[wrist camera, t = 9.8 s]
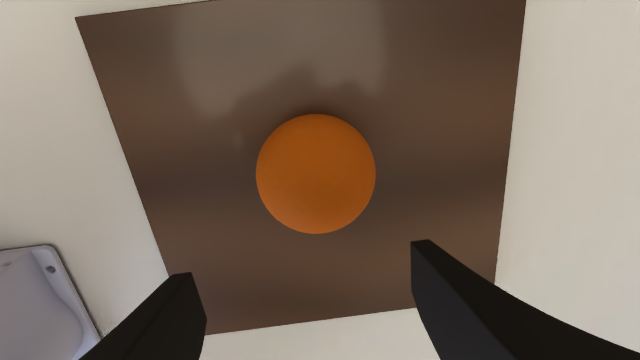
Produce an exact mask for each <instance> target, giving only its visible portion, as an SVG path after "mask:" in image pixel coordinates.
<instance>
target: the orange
mask: <svg viewBox="0 0 640 360" xmlns="http://www.w3.org/2000/svg"><path fill="white" fill-rule="evenodd" d="M375 180H376V169H375V161H374V158H373V154H372V152H371V150H370V147H369V145H368V144H367V142H366V140H365V139H364V138H363V136H362V135H361V134H360V133H359V132H358V131H357V130H356V129H355V128H354V127H353V126H351V125H350V124H348V123H347V122H345V121H343V120H341V119H339V118H336V117H333V116H329V115H324V114H307V115H302V116H298V117H295V118H293V119H291V120H289V121H287V122H285V123H283V124H282V125H280V126H279V127H278V128H277V129H275V130H274V131H273V132H272V133H271V135H270V136H269V137H268V138H267V140H266V141H265V143H264V144H263V146H262V148H261V151H260V153H259V156H258V159H257V166H256V182H257V188H258V191H259V195H260V197H261V199H262V201H263V203H264V205H265V206H266V208H267V209H268V211H269V212H270V213H271V214H272V215H273V216H274V217H275V218H276V219H277V220H278V221H280V222H281V223H282V224H284V225H285V226H287V227H289V228H291V229H294V230H296V231H299V232H303V233H310V234H321V233H328V232H332V231H335V230H338V229H340V228H343V227H344V226H346V225H348V224H349V223H351V222H352V221H353V220H355V219H356V218H357V217H358V216H359V215H360V214H361V212H362V211H363V210H364V209H365V207H366V206H367V204H368V203H369V200H370V198H371V196H372V193H373V190H374V186H375Z"/></svg>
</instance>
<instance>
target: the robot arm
mask: <svg viewBox="0 0 640 360" xmlns="http://www.w3.org/2000/svg"><path fill="white" fill-rule="evenodd" d="M410 252H411V292H412V295H413V298H414V301H415V304H416V307H417V309H418V312H419V315H420V318H421V320H422V322H423V324H424V327H425V329H426V331H427V333H428V335H429V337H430V339H431V341H432V343H433V345H434V347H435V349H436V351H437V353H438V355H439V357H440V359H441V360H640V353H638V352H635V351H633V350H630V349H627V348H625V347H622V346H619V345H617V344H614V343H612V342H609V341H607V340H604V339H602V338H599V337H597V336H594V335H592V334H590V333H587V332H585V331H583V330H581V329H578V328H576V327H574V326H572V325H569V324H567V323H565V322H563V321H560V320H558V319H556V318H554V317H552V316H550V315H548V314H546V313H544V312H542V311H540V310H538V309H536V308H534V307H533V306H531V305H529V304H527V303H525V302H523V301H521V300H519V299H518V298H516V297H514V296H512V295H511V294H509V293H507V292H506V291H504V290H502V289H501V288H499V287H497V286H496V285H494V284H492V283H491V282H489V281H488V280H486V279H485V278H483V277H482V276H480V275H478V274H477V273H476V272H474V271H473V270H471V269H470V268H468V267H467V266H465V265H464V264H463V263H461V262H460V261H458V260H457V259H456V258H454V257H453V256H451V255H450V254H449V253H447V252H446V251H445V250H443V249H442V248H441V247H439V246H438V245H436V244H435V243H434V242H432V241H431V240H430V239H425V240H418V241H411V242H410ZM51 266H52V267H54V268H55V269H54V268H52V267H51ZM206 324H207V317H206V314H205V311H204V308H203V305H202V302H201V299H200V296H199V293H198V290H197V287H196V284H195V281H194V278H193V275H192V272H186V273H179V274H173V275H171V276H170V277H169V278H168V279H167V280H166V281H165V282H163V283H162V284H161V285H160V286H159V287H158V288H157V289H156V290H155V291H154V292H153V293H152V294H151V295H150V296H149V297H148V298H147V299H146V300H144V301H143V302H142V303H141V304H140V305H139V306H138V307H137V308H136V309H135V310H134V311H133V312H132V313H131V314H130V315H129V316H128V317H126V318H125V319H124V320H123V321H122V322H121V323H120V324H119V325H118V326H117V327H115V328H114V329H113V330H112V331H111V332H110V333H109V334H107V335H106V336H105V337H104V338H103V339H102V340H101V339H100V337H99V335H98V333H97V331H96V329H95V327H94V325H93V323H92V321H91V319H90V317H89V315H88V313H87V311H86V309H85V307H84V305H83V303H82V301H81V299H80V298H79V296H78V294H77V292H76V290H75V288H74V286H73V284H72V282H71V280H70V278H69V276H68V274H67V272H66V270H65V268H64V266H63V264H62V262H61V260H60V258H59V256H58V254H57V252H56V251H55V249H54V248H52V247H51V246H48V245H42V246H35V247H27V248H19V249H12V250H4V251H0V360H199V358H200V354H201V351H202V346H203V341H204V336H205V330H206Z"/></svg>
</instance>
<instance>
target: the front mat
mask: <svg viewBox="0 0 640 360" xmlns="http://www.w3.org/2000/svg"><path fill="white" fill-rule="evenodd" d="M525 7H526V0H208V1H200V2H192V3H184V4H176V5H168V6H160V7H152V8H144V9H136V10H128V11H120V12H112V13H104V14H96V15H88V16H80V17H75V20H76V23H77V25H78V28H79V31H80V34H81V36H82V39H83V42H84V45H85V47H86V50H87V53H88V56H89V58H90V61H91V64H92V67H93V69H94V72H95V75H96V78H97V80H98V83H99V86H100V89H101V91H102V94H103V97H104V100H105V102H106V105H107V108H108V111H109V113H110V116H111V119H112V122H113V124H114V127H115V130H116V133H117V135H118V138H119V141H120V144H121V146H122V149H123V152H124V155H125V157H126V160H127V163H128V166H129V168H130V171H131V174H132V177H133V179H134V182H135V185H136V187H137V190H138V193H139V196H140V198H141V201H142V204H143V207H144V209H145V212H146V215H147V218H148V220H149V223H150V226H151V229H152V231H153V234H154V237H155V240H156V242H157V245H158V248H159V251H160V253H161V256H162V259H163V262H164V264H165V267H166V270H167V273H168V275H169V277H170V276H171V275H173V274H179V273H186V272H192V275H193V278H194V281H195V284H196V287H197V290H198V293H199V296H200V299H201V302H202V305H203V308H204V311H205V314H206V317H207V324H206V330H205V335H212V334H219V333H227V332H235V331H242V330H250V329H257V328H265V327H272V326H280V325H288V324H295V323H303V322H310V321H318V320H326V319H333V318H341V317H348V316H356V315H363V314H371V313H379V312H386V311H394V310H401V309H409V308H417V307H416V304H415V301H414V298H413V295H412V292H411V252H410V242H411V241H418V240H425V239H430V240H431V241H432V242H434V243H435V244H436V245H438V246H439V247H441V248H442V249H443V250H445V251H446V252H447V253H449V254H450V255H451V256H453V257H454V258H456V259H457V260H458V261H460V262H461V263H463V264H464V265H465V266H467V267H468V268H470V269H471V270H473V271H474V272H476V273H477V274H478V275H480V276H482V277H483V278H485V279H486V280H488V281H489V282H491V283H492V284H494V282H495V273H496V264H497V255H498V246H499V237H500V228H501V220H502V211H503V202H504V193H505V184H506V175H507V166H508V157H509V149H510V140H511V131H512V122H513V113H514V104H515V95H516V87H517V78H518V69H519V60H520V51H521V42H522V33H523V24H524V16H525ZM307 114H324V115H329V116H333V117H336V118H339V119H341V120H343V121H345V122H347V123H348V124H350V125H351V126H353V127H354V128H355V129H356V130H357V131H358V132H359V133H360V134H361V135H362V136H363V138H364V139H365V140H366V142H367V144H368V145H369V147H370V150H371V152H372V154H373V158H374V161H375V169H376V180H375V186H374V190H373V193H372V196H371V198H370V200H369V203H368V204H367V206H366V207H365V209H364V210H363V211H362V212H361V214H360V215H359V216H358V217H357V218H356V219H355V220H353V221H352V222H351V223H349V224H348V225H346V226H344V227H343V228H340V229H338V230H335V231H332V232H328V233H321V234H310V233H303V232H299V231H296V230H294V229H291V228H289V227H287V226H285V225H284V224H282V223H281V222H280V221H278V220H277V219H276V218H275V217H274V216H273V215H272V214H271V213H270V212H269V211H268V209H267V208H266V206H265V205H264V203H263V201H262V199H261V197H260V195H259V191H258V188H257V182H256V166H257V159H258V156H259V153H260V151H261V148H262V146H263V144H264V143H265V141H266V140H267V138H268V137H269V136H270V135H271V133H272V132H273V131H274V130H275V129H277V128H278V127H279V126H280V125H282V124H283V123H285V122H287V121H289V120H291V119H293V118H295V117H298V116H302V115H307Z"/></svg>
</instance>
